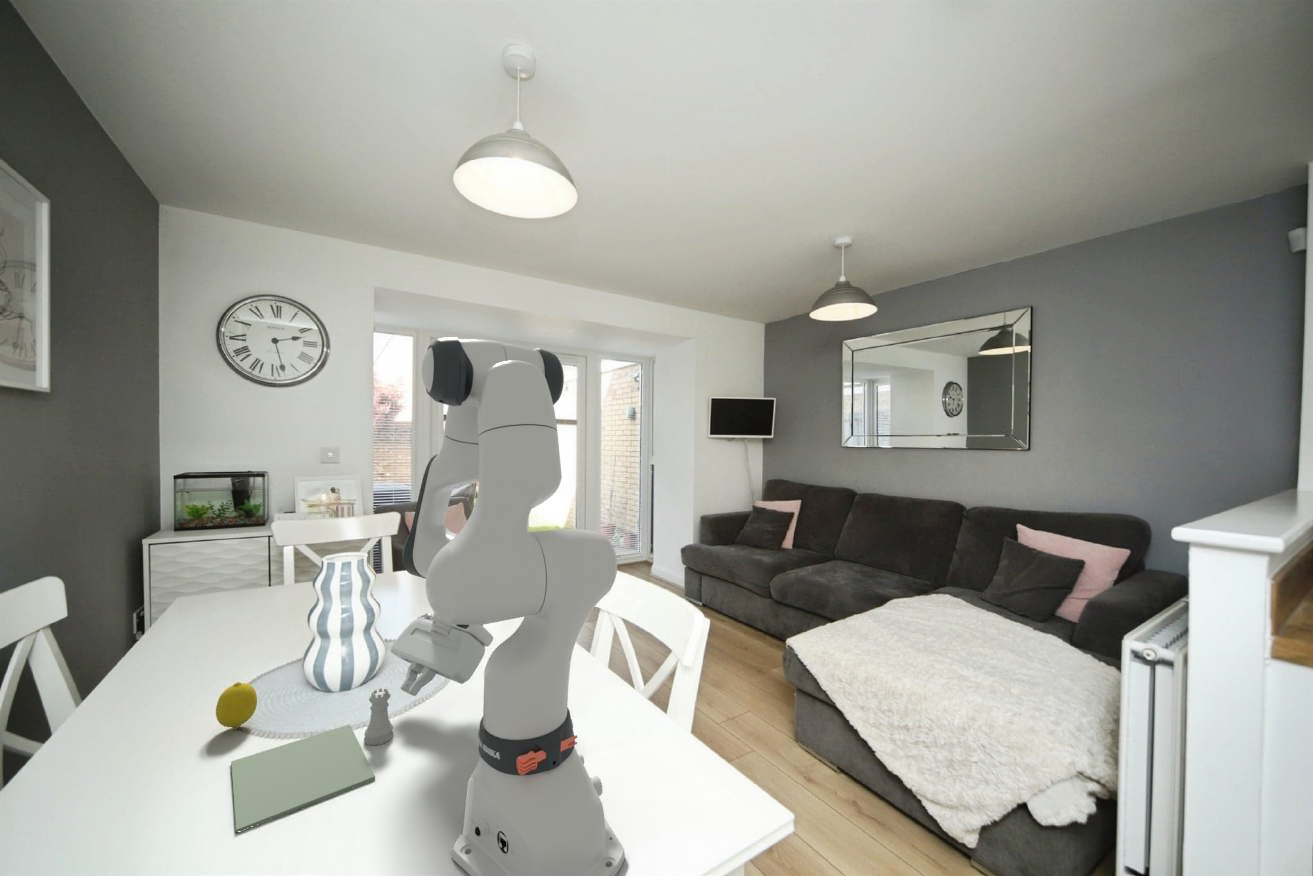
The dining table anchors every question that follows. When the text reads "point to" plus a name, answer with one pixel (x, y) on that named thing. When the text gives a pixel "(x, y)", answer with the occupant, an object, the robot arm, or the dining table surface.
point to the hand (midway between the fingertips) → (407, 692)
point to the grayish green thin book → (297, 775)
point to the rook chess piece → (379, 719)
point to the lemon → (236, 705)
